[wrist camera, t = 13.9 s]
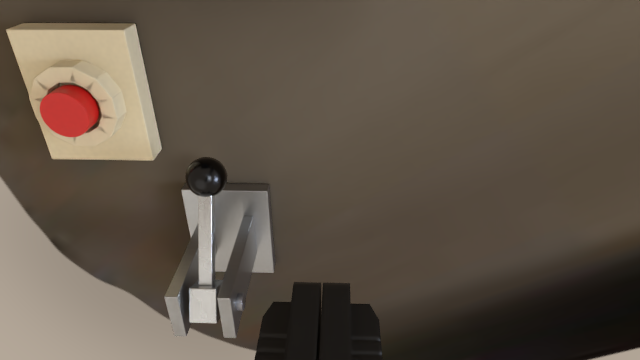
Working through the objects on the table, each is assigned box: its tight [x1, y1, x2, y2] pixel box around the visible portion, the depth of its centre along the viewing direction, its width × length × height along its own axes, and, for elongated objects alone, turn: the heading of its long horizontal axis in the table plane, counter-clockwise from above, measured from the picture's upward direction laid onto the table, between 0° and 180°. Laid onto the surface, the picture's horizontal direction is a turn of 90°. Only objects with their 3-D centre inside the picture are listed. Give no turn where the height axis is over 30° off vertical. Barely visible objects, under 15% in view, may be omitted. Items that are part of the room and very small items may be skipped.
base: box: [165, 183, 275, 338], centre depth 40 cm, size 10×8×12 cm
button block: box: [6, 23, 162, 160], centre depth 36 cm, size 11×9×4 cm
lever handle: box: [186, 157, 227, 323], centre depth 36 cm, size 13×3×3 cm, turn 0°
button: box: [40, 85, 99, 137], centre depth 34 cm, size 4×4×2 cm
